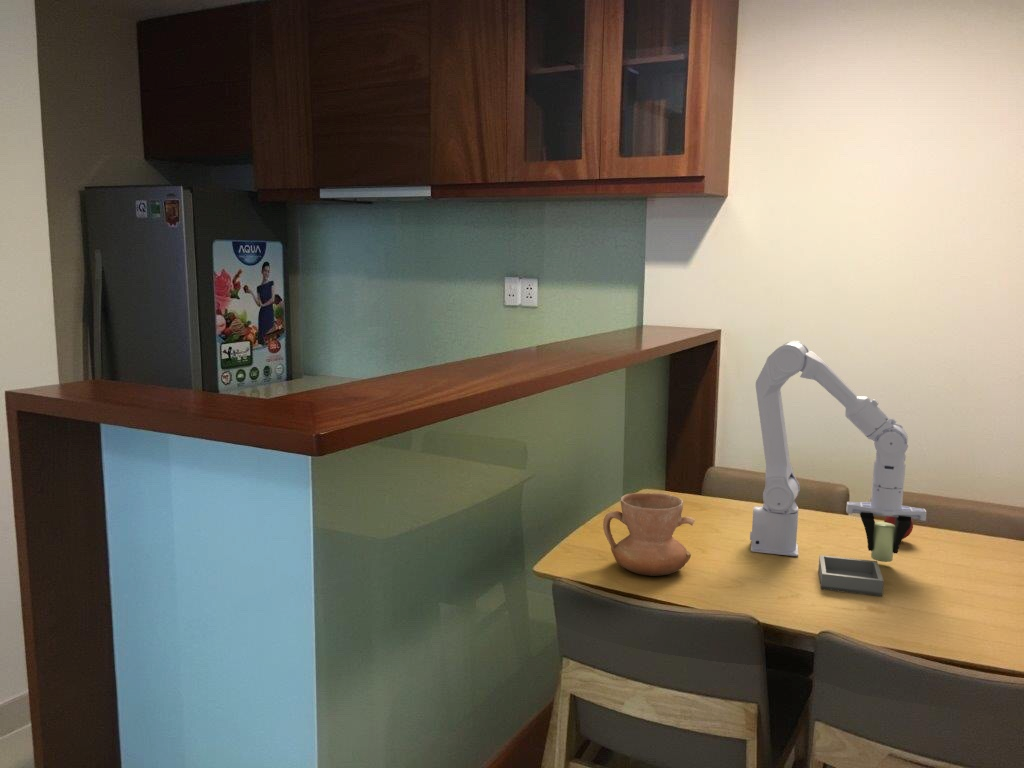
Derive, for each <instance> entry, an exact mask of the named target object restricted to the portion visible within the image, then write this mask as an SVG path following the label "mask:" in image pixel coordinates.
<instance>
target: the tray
mask: <svg viewBox="0 0 1024 768" xmlns="http://www.w3.org/2000/svg"><path fill="white" fill-rule="evenodd" d="M878 562H879V561H877V560H869V559H860V558H858V559H857V558H851V557H850V558H849V557H841V556H831V555H822V554H819V557H818V576H819V584H821V585H820V589H821V590H824V589H825V590H826V591H832V592H833V591H834V592H840V593H841V592H842V593H848V594H849V593H850V594H859V595H865V596H866V595H867V596H875V597H883V593H884V592H883V591H884V584H885V583H884V582H885V581H884V577H883V575H882V572H881V568H880V565H879V563H878ZM825 590H824V591H825Z"/></svg>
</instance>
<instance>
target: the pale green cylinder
mask: <svg viewBox="0 0 1024 768" xmlns="http://www.w3.org/2000/svg"><path fill="white" fill-rule="evenodd" d="M894 537H895V525H893V524H891V523H886V522H884V521H877V522H875V524H874V531H873V550H872V551H870V552H871V553H870V557H871V559H872V560H873V561H877V562H882V563H889V562H892V561H893V559H894V558H893V557H894V553H893V548H894Z"/></svg>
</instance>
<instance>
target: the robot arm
mask: <svg viewBox="0 0 1024 768" xmlns="http://www.w3.org/2000/svg"><path fill="white" fill-rule="evenodd" d="M799 372H802V373H801V374H800V375H799V377H800V378H801V379H806V380H814V381H816V382H817V383H818V384H819V385H820V386H821V387H822V388H823V389H825V391H827V392H828V393H829V394H830V395H831V396H832V397H833V398H835V399H836V400H837V401H838V403H840V404H841V405H842V406H844V407H845V413H844V414H845V415H844V416H845V417H846V419H847V420H848V421H850V423H852V425H854V426H855V428H857V430H859V431H860V433H862V434H863V435H864V436H865V437H866V438H867V439H868V440H871V441H873V442H874V449H875V450H876V453H875V460H874V461H873V469H872V471H873V472H872V482H871V497H870V501H863V502H862V501H860V502H859V501H858V502H857V501H846V508H845V509H846V510H845V511H846V513H847V514H850V515H853V514H859V516H860V519H861V522H862V524H863V527H864V530H865V535H866V541H867V550H868V551H869V552H871V551H872V550H873V531H874V524H875V521H876V520H875V516H880V517H881V516H882V517H886V516H890V517H895V537H894V548H893V554H898V552H899V549H900V546H901V543H902V541H903V540H904V539H903V537H904V535H905V534H906V532H907V531H908V529H909V528H910V527H911V524H912V521H913V520H919V521H920V522H921V521H922V522H923V521H924V522H927V510H926V509H925V508H920V507H914V506H908V505H903V496H904V487H905V475H906V464H905V462H906V458H907V455H906V452H907V450H908V448H909V445H908V442H909V440H908V439H909V438H908V434H907V431H906V430H905V429H904V427H903V426H902V425H901V424H899V423H897V420H896V419H895V418H894V417H893V418H890V417H889V416H888V415H887V414H886V413H885V412H884V411H883V410H882V408H880V407H879V402H878V401H877V400H876V399H875V398H874V399H871V398H869V397H868V396H858V395H857V394H856V393H855V392H854V391H853V390H852V389H851V387H849V386H848V385H847V383H845V382H844V381H843V380H842V379H841V377H840V376H838V374H837V373H836V372H835V371H834V370H833V369H832V368H831V367H830V366H829V365H828V364H827V363H826V362H825V361H824V360H823V359H822V358H820V356H819V355H818V354H816V353H815V352H814V351H812V350H809V348H808V347H807V346H806V345H805V344H804V343H802V342H801V341H799V340H791V341H787V342H785V343H784V344H782V345H781V346H779V347H777V348H776V349H775V350H774V351H773V352H771V353H770V355H768V356H767V358H766V360H765V363H764V365H763V367H762V369H761V370H760V372H759V374H758V377H757V378H756V381H755V393H756V398H757V399H756V400H757V408H758V415H759V422H760V429H761V437H762V445H763V450H764V451H763V453H764V460H765V475H764V476H765V477H764V481H765V486H764V489H763V493H762V500H763V503H762V505H761V506H753V507H752V521H751V522H752V523H751V524H752V525H751V531H750V532H749V533H750V534H749V541H751V544H750V552H752V553H761V554H770V555H780V556H789V557H798V556H799V546H798V545H799V544H798V542H797V539H798V526H799V525H798V524H799V523H798V522H799V521H798V520H799V507H798V505H797V503H796V498H798V496H799V494H800V492H801V491H800V490H801V485H800V483H799V481H798V480H797V478H796V476H795V474H794V469H793V466H792V463H791V460H790V453H789V452H790V451H789V444H788V437H787V436H788V435H787V430H786V429H787V428H786V421H785V415H784V413H785V412H784V407H783V406H784V405H783V400H782V399H783V398H782V391H781V389H782V387H784V385H785V384H786V383H787V381H789V379H791V378H792V377H793V376H795V375H797V374H799ZM911 519H912V521H911Z"/></svg>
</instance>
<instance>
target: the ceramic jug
mask: <svg viewBox="0 0 1024 768" xmlns="http://www.w3.org/2000/svg"><path fill="white" fill-rule="evenodd" d="M620 508H621V511H619V510H612V511H608V512H607V513H606V514H605V516H604V517H603V521H602V522H603V524H602V525H603V532H604V535H605V537H606V539H607V541H608V544H609V545H610V550H611V553H612V555H613V557H614V559H615V561H616V563H617V564H618V565H619V566H621V567H622V568H623V569H625V570H627V571H629V572H632V573H635V574H638V575H642V576H653V577H654V576H655V577H657V576H658V577H659V576H666V575H670V574H673V573H675V572H678V571H679V570H681V569H683V567H685V565H686V564H687V563H688V562H689V561H690V559H691V555H692V554H691V552H690V551H689V550H687V548H686V547H685V546H684V544H682V543H681V542H680V541H679V540H677V539H676V538H675V537H674V536H673V535H674V534H675V533H674V532H675V531H676V529H677V528H678V527H681V526H682V525H684V524H687V525H690V526H692V527H693V525H694V523H695V521H696V519H695V518H694V517H691V516H682V513H683V510H684V509H683V508H684V501H683V499H682V498H680V497H679V496H676V495H670V494H667V493H661V492H660V493H659V492H658V493H657V492H652V493H651V492H647V493H644V492H636V493H627V494H624V495H622V496H621V497H620ZM613 519H616V520H618V521H620V522H621V523H622V524H624V525H625V526H626V527H627V531H628V533H629V534H628V535H627V536H626V537H623V539H621V540H620V541H619V542H617V543H616V542H615V540H614V537H613V534H612V531H611V521H612V520H613Z"/></svg>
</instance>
